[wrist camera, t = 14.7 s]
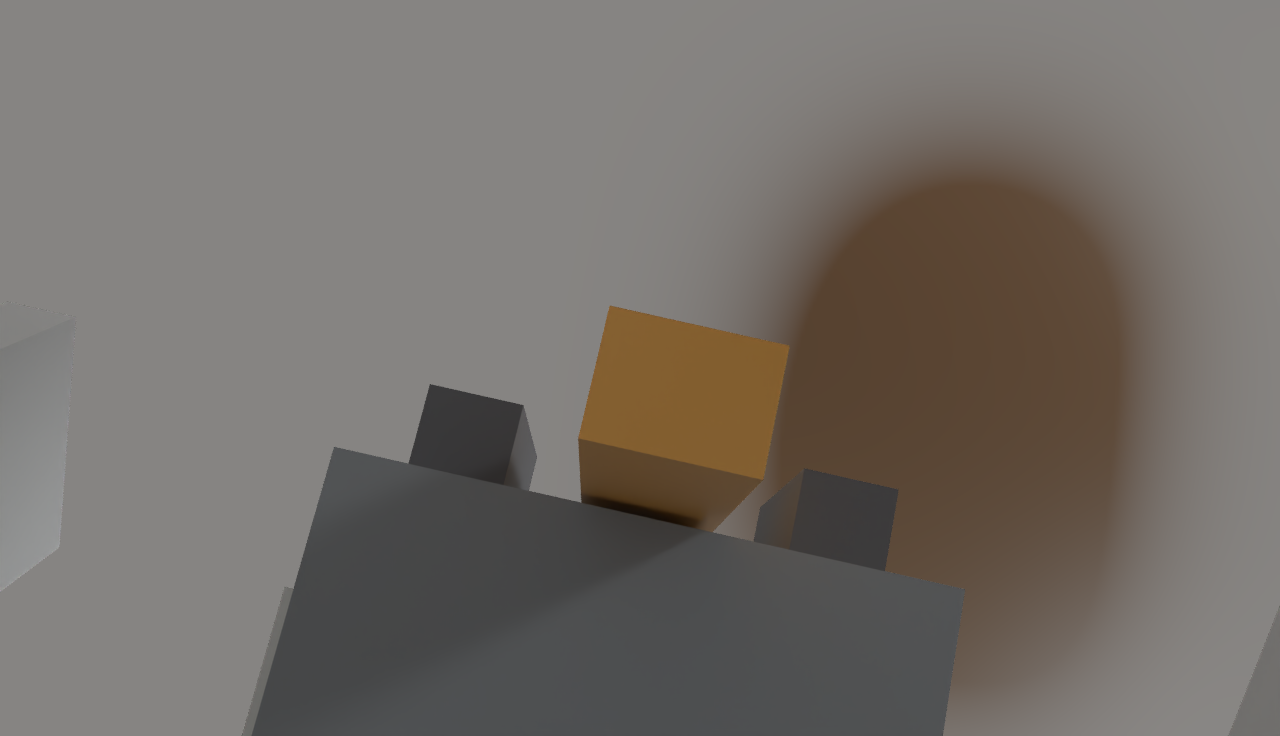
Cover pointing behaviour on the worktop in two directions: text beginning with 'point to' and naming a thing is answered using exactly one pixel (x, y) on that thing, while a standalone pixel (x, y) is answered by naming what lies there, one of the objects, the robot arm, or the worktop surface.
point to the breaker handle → (677, 419)
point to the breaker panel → (592, 607)
